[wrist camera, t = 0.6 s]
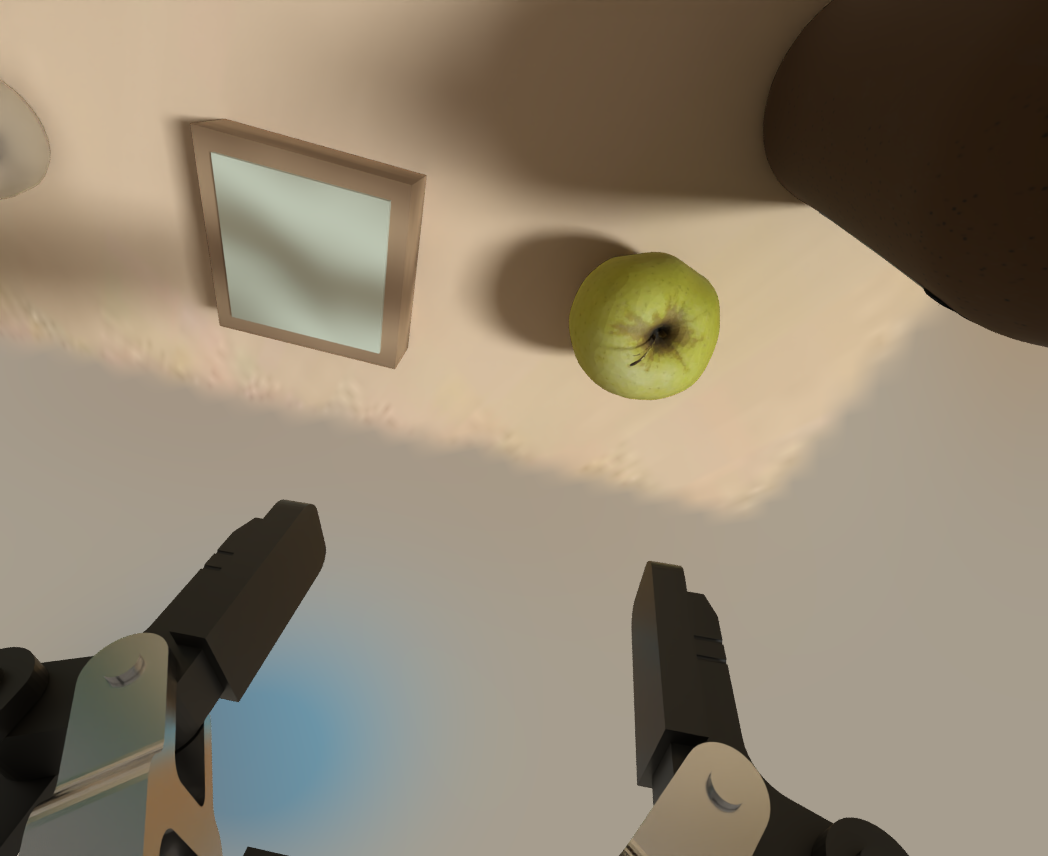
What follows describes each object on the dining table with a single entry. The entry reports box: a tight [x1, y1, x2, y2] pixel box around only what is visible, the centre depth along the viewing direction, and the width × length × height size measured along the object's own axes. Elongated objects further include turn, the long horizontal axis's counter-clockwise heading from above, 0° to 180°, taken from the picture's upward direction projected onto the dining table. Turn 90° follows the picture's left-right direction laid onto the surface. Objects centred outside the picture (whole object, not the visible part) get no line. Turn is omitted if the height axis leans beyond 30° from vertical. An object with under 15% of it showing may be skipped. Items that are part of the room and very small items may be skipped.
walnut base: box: [190, 119, 426, 369], centre depth 28 cm, size 11×11×3 cm
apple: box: [569, 252, 720, 400], centre depth 26 cm, size 8×8×10 cm
